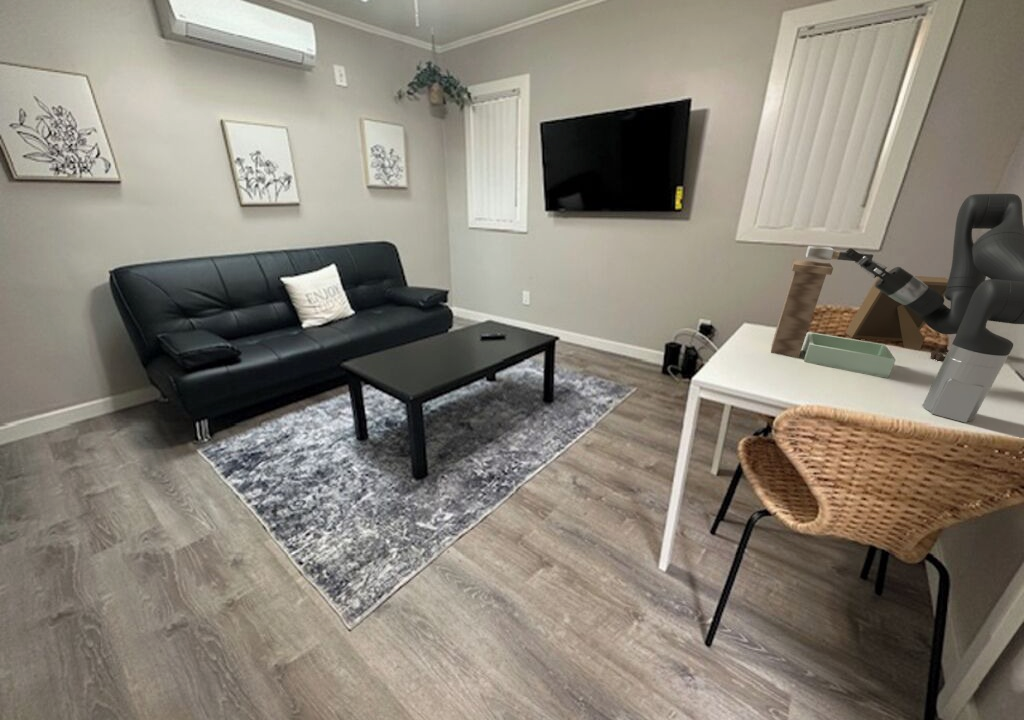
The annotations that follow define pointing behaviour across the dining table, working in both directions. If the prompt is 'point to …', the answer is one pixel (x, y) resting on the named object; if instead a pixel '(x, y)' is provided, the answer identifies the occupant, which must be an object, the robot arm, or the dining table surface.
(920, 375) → the dining table surface
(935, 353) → the bear figurine
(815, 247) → the scraper
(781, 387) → the dining table surface
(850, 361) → the tray
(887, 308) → the photo frame
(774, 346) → the scratching post
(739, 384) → the dining table surface
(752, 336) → the dining table surface
